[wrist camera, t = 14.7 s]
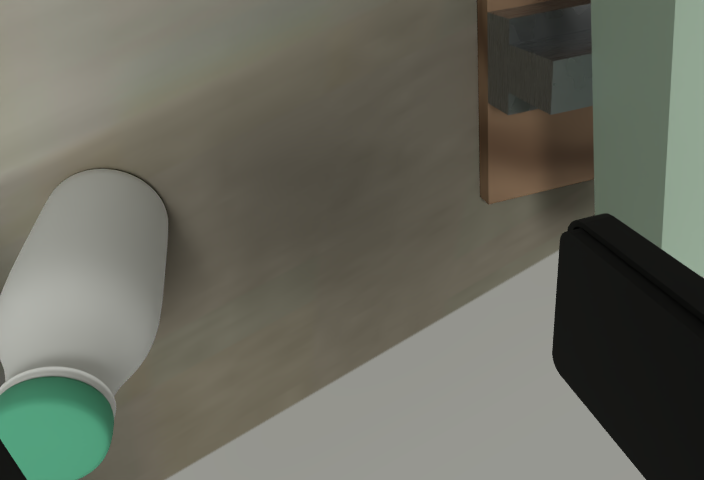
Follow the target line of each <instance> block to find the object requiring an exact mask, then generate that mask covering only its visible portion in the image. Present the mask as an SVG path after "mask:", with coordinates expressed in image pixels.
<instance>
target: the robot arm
mask: <svg viewBox="0 0 704 480" xmlns="http://www.w3.org/2000/svg"><path fill="white" fill-rule="evenodd" d="M556 292H557V293H556V307H555V322H554V336H553V351H552V355H553V361H554V364H555V367H556V369H557V371H558V372H559V374H560V375H561V376H562V378H563V379H564V380H565V381H566V382H567V384H568V385H569V386H570V387H571V389H572V390H573V391H574V392H575V393H576V395H577V396H578V397H579V398H580V400H581V401H582V402H583V403H584V404H585V405H586V406H587V408H588V409H589V410H590V412H591V413H592V414H593V415H594V417H595V418H596V419H597V420H598V421H599V423H600V424H601V425H602V426H603V428H604V429H605V430H606V431H607V432H608V434H609V435H610V436H611V437H612V438H613V440H614V441H615V442H616V443H617V445H618V446H619V447H620V448H621V449H622V451H623V452H624V453H625V454H626V456H627V457H628V458H629V459H630V460H631V462H632V463H633V464H634V465H635V467H636V468H637V469H638V470H639V471H640V473H641V474H642V475H643V476H644V477H645V479H646V480H704V278H703V277H701V276H700V275H698V274H697V273H695V272H694V271H692V270H691V269H690V268H688V267H687V266H685V265H684V264H682V263H681V262H679V261H678V260H677V259H675V258H674V257H672V256H671V255H669V254H668V253H666V252H665V251H663V250H662V249H661V248H659V247H658V246H656V245H655V244H653V243H652V242H650V241H649V240H647V239H646V238H645V237H643V236H642V235H640V234H639V233H637V232H636V231H634V230H633V229H631V228H630V227H629V226H627V225H626V224H624V223H623V222H621V221H620V220H618V219H617V218H616V217H614V216H612V215H610V214H608V213H603V214H599V215H595V216H591V217H587V218H583V219H579V220H575V221H573V222H571V223H570V225H569V227H568V231H567V232H564V233H563V234H562V236H561V238H560V247H559V263H558V277H557V291H556ZM0 480H27V479H26V477H25V476H24V474H23V473H22V471H21V470H20V468H19V467H18V465H17V464H16V462H15V461H14V459H13V458H12V456H11V455H10V453H9V452H8V450H7V448H6V447H5V445H4V444H3V442H2V441H1V439H0Z"/></svg>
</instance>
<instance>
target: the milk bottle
mask: <svg viewBox="0 0 704 480" xmlns="http://www.w3.org/2000/svg"><path fill="white" fill-rule="evenodd" d="M167 243H168V216H167V211H166V209H165V206H164V204H163V202H162V200H161V198H160V197H159V196H158V194H157V193H156V192H155V191H154V190H153V189H152V188H151V187H150V186H149V185H148V184H146V183H145V182H144V181H142V180H141V179H139V178H137V177H135V176H133V175H131V174H128V173H125V172H122V171H118V170H112V169H92V170H87V171H83V172H80V173H77V174H74V175H72V176H70V177H69V178H67V179H65V180H64V181H63V182H61V183H60V184H59V185H58V186H57V187H56V188H55V189H54V191H53V192H52V194H51V195H50V197H49V198H48V200H47V202H46V203H45V205H44V207H43V209H42V211H41V213H40V215H39V217H38V218H37V220H36V222H35V224H34V226H33V228H32V230H31V232H30V234H29V236H28V238H27V240H26V241H25V243H24V245H23V247H22V249H21V251H20V253H19V255H18V257H17V259H16V261H15V263H14V265H13V267H12V269H11V271H10V274H9V276H8V278H7V281H6V283H5V285H4V288H3V290H2V293H1V295H0V360H1V363H2V365H3V368H4V372H5V380H6V382H5V383H4V384H3V385H2V386H1V387H0V439H1V441H2V442H3V444H4V445H5V447H6V448H7V450H8V452H9V453H10V455H11V456H12V458H13V459H14V461H15V462H16V464H17V465H18V467H19V468H20V470H21V471H22V473H23V474H24V476H25V477H26V479H27V480H77V479H79V478H82V477H84V476H85V475H87V474H89V473H90V472H92V471H93V470H94V469H95V468H96V467H98V466H99V464H100V463H101V462H102V461H103V459H104V458H105V456H106V454H107V452H108V450H109V447H110V444H111V439H112V435H113V426H114V418H115V414H116V402H115V398H114V396H115V394H116V392H117V391H118V390H119V388H120V387H121V386H122V385H123V384H124V383H125V382H126V381H127V380H128V379H129V378H130V377H131V376H132V375H133V374H134V372H135V371H136V370H137V369H138V368H139V367H140V365H141V364H142V362H143V361H144V359H145V358H146V356H147V354H148V353H149V351H150V349H151V346H152V344H153V342H154V339H155V336H156V333H157V330H158V326H159V321H160V315H161V308H162V301H163V291H164V280H165V269H166V256H167Z"/></svg>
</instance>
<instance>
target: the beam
mask: <svg viewBox="0 0 704 480" xmlns="http://www.w3.org/2000/svg"><path fill="white" fill-rule="evenodd" d="M591 35H592V89H593V143H594V197H595V215H599V214H603V213H608V214H610V215H612V216H614V217H616V218H617V219H618V220H620V221H621V222H623V223H624V224H626V225H627V226H629V227H630V228H631V229H633V230H634V231H636V232H637V233H639V234H640V235H642V236H643V237H645V238H646V239H647V240H649V241H650V242H652V243H653V244H655V245H656V246H658V247H659V248H661V249H662V250H663V251H665V252H666V253H668V254H669V255H671V256H672V257H674V258H675V259H677V260H678V261H679V262H681V263H682V264H684V265H685V266H687V267H688V268H690V269H691V270H692V271H694V272H695V273H697V274H698V275H700V276H701V277H703V276H704V0H591Z"/></svg>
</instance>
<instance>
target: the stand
mask: <svg viewBox="0 0 704 480" xmlns="http://www.w3.org/2000/svg"><path fill="white" fill-rule="evenodd" d="M477 19H478V85H479V151H480V197H481V198H482V199H483V200H485V201H486V202H487V203H488V204H492V203H496V202H501V201H505V200H509V199H513V198H517V197H521V196H526V195H530V194H534V193H538V192H542V191H546V190H551V189H555V188H559V187H563V186H567V185H571V184H576V183H580V182H584V181H588V180H592V179H594V143H593V89H592V35H591V0H477Z"/></svg>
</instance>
